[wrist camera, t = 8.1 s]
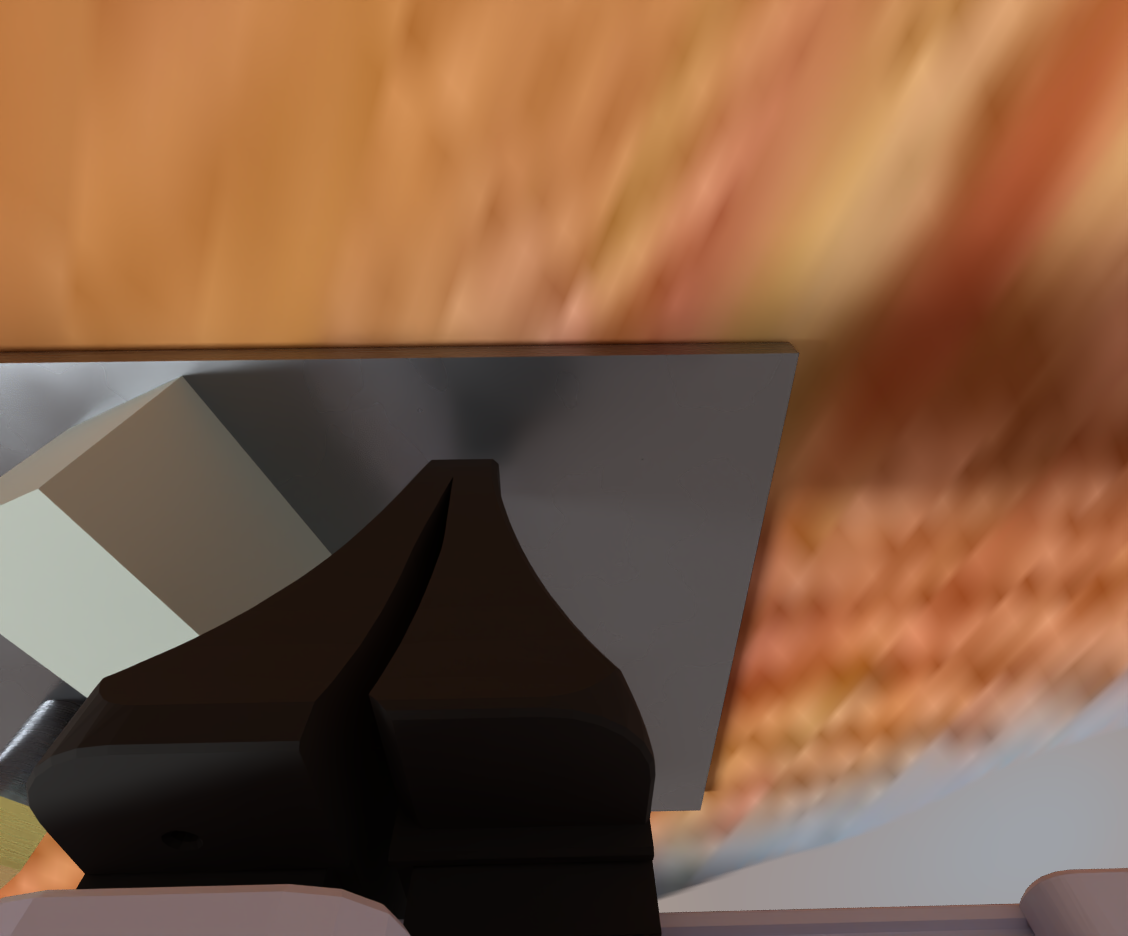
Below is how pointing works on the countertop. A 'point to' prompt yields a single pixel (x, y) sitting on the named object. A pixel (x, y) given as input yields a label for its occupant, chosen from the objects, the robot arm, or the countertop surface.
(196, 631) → the link
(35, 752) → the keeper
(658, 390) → the base plate
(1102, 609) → the countertop surface
